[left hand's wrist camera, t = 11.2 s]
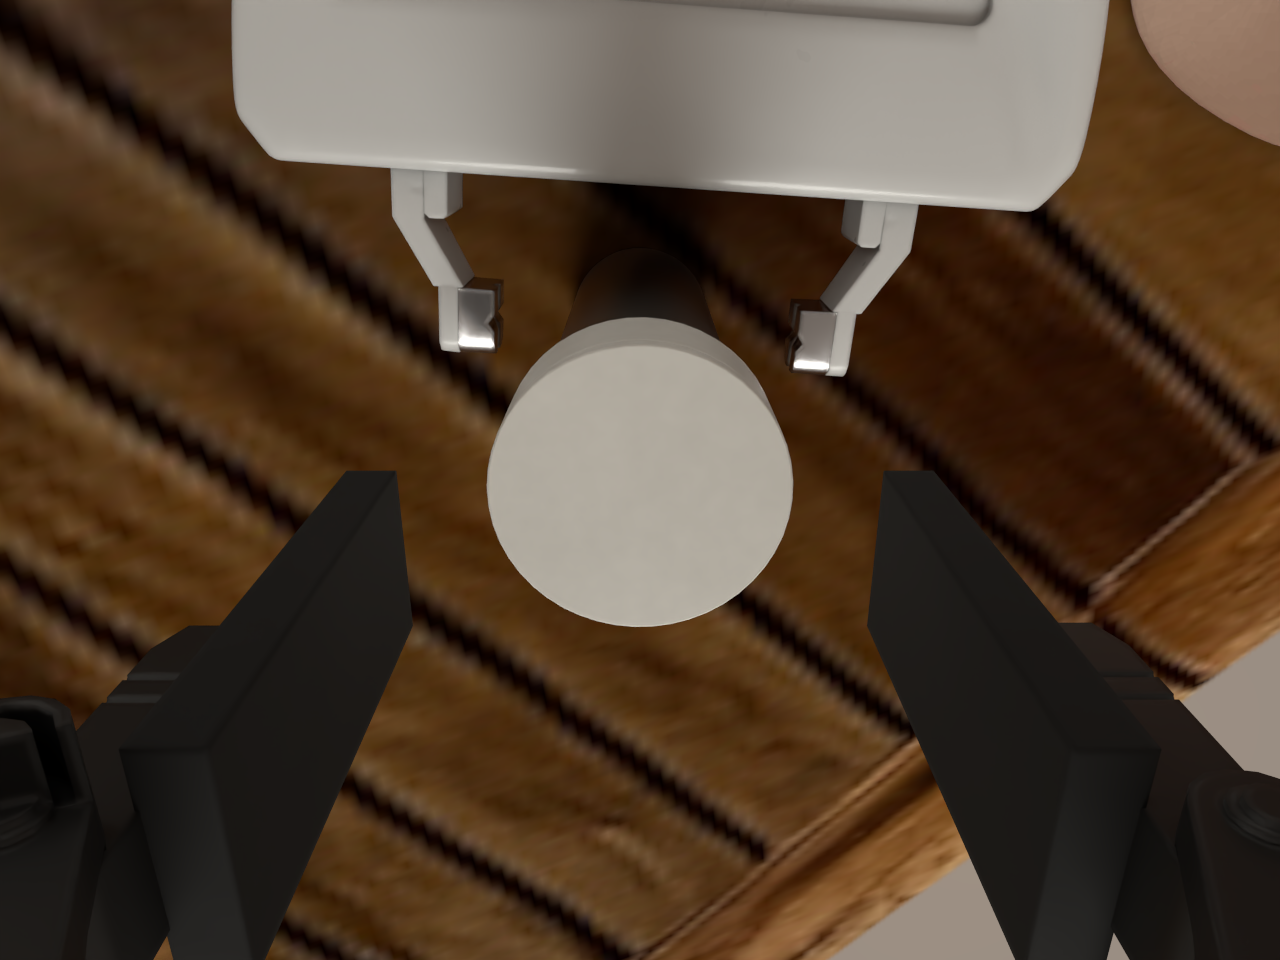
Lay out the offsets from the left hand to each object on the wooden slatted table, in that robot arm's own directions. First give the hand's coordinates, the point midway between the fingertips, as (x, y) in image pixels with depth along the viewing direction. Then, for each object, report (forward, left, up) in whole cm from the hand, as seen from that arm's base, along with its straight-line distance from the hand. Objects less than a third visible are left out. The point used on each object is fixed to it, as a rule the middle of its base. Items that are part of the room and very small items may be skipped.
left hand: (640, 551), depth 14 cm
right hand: (0, 0, -12) cm, 12 cm away
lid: (0, 0, -3) cm, 3 cm away
